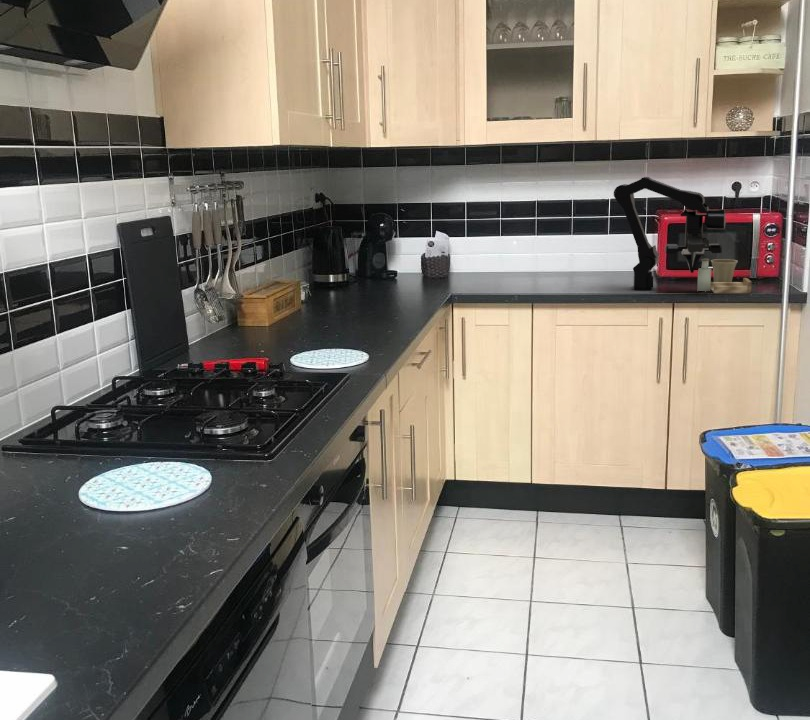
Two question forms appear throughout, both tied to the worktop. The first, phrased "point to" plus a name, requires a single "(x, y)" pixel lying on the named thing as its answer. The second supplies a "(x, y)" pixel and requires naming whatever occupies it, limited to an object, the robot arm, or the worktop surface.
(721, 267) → the flower pot
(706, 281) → the bottle
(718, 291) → the cradle
